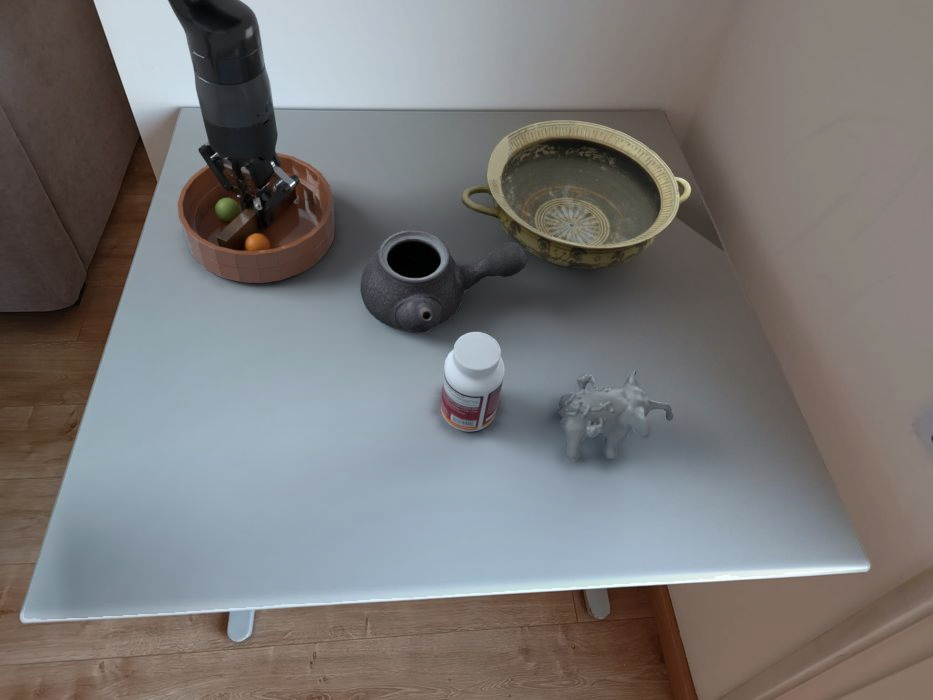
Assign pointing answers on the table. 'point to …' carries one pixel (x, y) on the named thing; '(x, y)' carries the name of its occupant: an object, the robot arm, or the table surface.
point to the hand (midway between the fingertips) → (259, 222)
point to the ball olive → (227, 209)
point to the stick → (247, 225)
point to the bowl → (290, 235)
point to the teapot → (426, 279)
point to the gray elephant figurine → (606, 414)
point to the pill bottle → (472, 382)
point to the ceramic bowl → (579, 193)
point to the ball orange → (257, 242)
